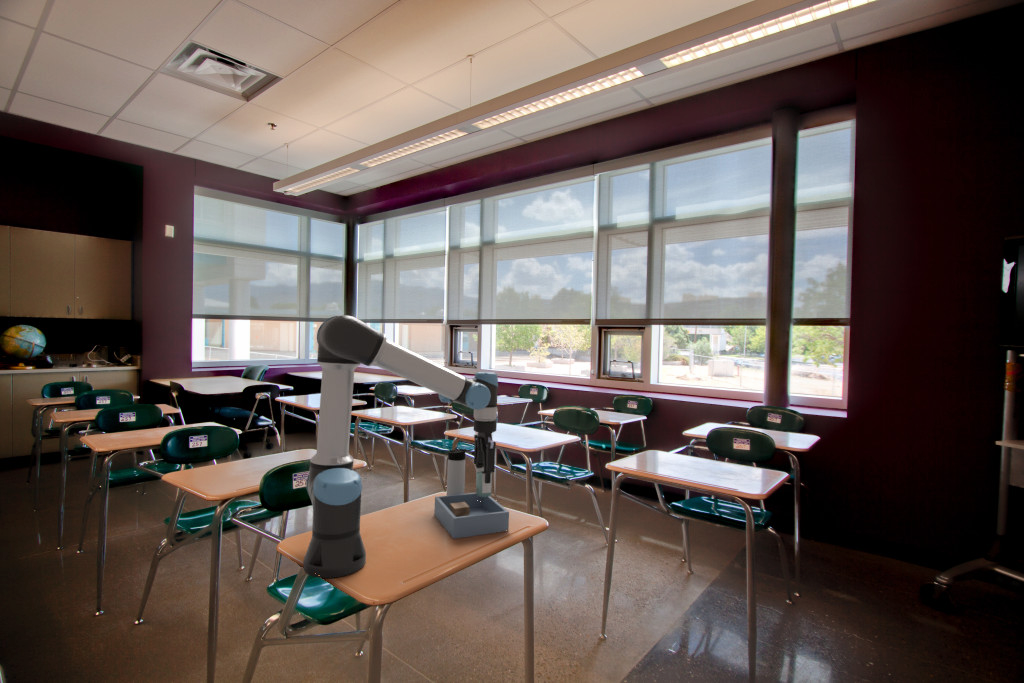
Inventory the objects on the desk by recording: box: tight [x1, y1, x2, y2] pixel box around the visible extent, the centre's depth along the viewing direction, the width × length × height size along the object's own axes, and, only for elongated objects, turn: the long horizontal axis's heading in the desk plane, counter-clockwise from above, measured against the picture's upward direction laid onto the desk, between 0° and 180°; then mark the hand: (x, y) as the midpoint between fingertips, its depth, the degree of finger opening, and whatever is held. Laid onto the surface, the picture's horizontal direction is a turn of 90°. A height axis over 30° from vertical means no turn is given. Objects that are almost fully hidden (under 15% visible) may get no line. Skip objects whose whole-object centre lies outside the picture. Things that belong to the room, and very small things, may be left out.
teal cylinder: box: [475, 471, 493, 497], centre depth 160 cm, size 5×5×7 cm
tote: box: [433, 492, 510, 539], centre depth 159 cm, size 18×21×6 cm
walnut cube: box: [450, 502, 470, 517], centre depth 157 cm, size 5×5×5 cm
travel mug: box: [446, 448, 468, 496], centre depth 174 cm, size 6×7×20 cm
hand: (483, 489), depth 160 cm, fingers closed on teal cylinder, 5 cm apart
